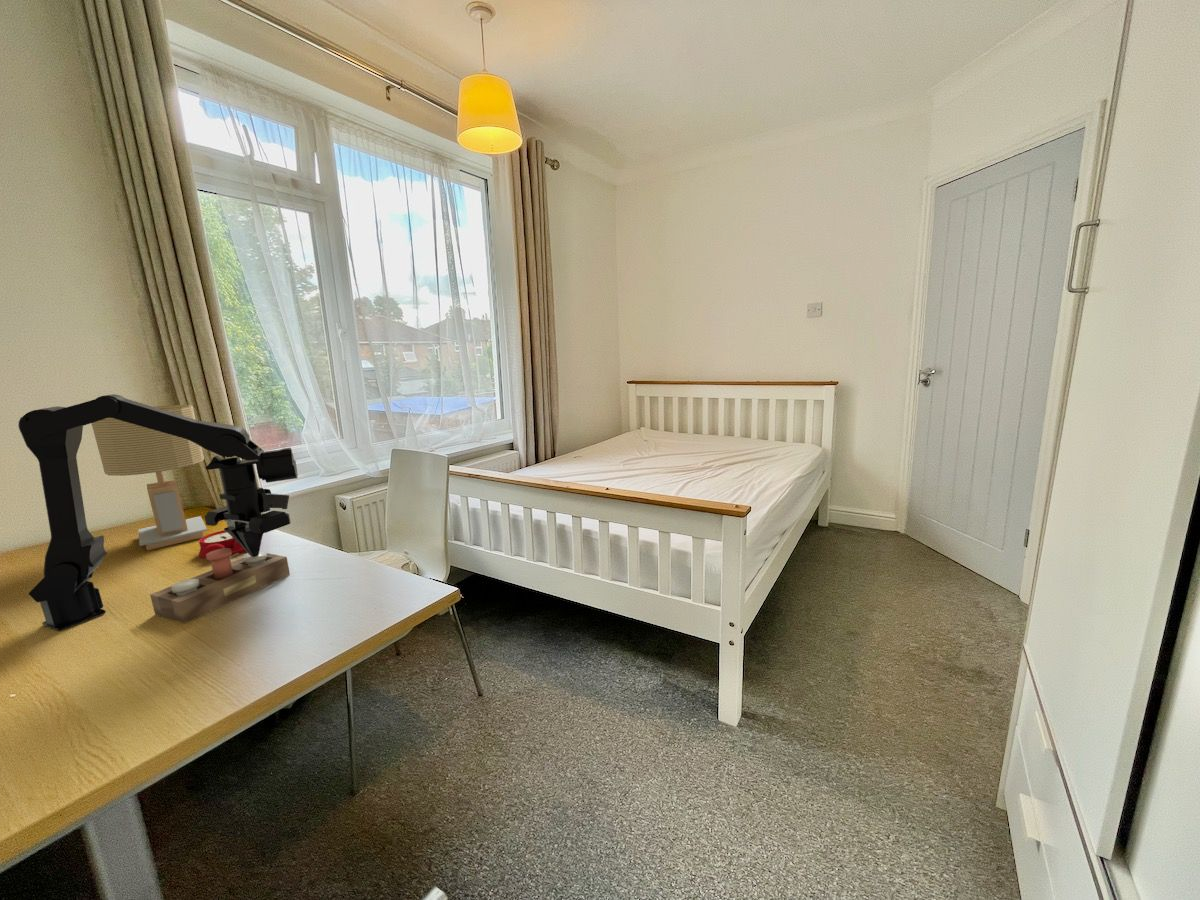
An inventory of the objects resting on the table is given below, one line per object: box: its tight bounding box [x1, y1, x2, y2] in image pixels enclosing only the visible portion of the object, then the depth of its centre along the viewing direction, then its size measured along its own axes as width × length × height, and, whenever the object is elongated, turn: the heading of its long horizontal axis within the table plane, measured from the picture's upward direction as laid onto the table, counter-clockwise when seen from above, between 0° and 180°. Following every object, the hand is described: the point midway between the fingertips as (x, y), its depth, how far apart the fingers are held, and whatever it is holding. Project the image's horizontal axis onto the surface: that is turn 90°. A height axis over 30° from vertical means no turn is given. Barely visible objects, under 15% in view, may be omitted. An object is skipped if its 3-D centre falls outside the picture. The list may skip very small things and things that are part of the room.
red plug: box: [205, 548, 233, 579], centre depth 96 cm, size 4×4×5 cm
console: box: [149, 552, 291, 624], centre depth 97 cm, size 20×9×4 cm, turn 158°
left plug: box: [171, 578, 200, 597], centre depth 91 cm, size 4×4×5 cm
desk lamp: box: [90, 404, 208, 551], centre depth 126 cm, size 20×20×35 cm
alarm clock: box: [198, 529, 247, 560], centre depth 118 cm, size 10×6×15 cm
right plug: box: [243, 551, 268, 566], centre depth 102 cm, size 4×4×5 cm
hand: (255, 556), depth 102 cm, fingers closed, pressing on right plug
